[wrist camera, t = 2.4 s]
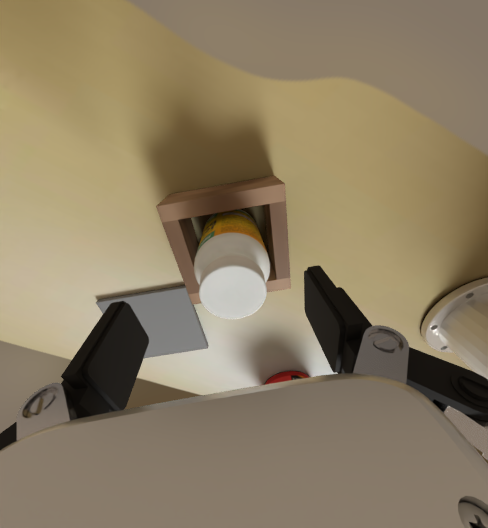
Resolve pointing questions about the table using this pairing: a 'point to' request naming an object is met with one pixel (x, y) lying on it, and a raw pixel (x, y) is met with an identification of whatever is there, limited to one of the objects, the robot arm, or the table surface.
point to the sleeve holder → (220, 200)
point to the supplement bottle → (231, 265)
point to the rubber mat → (165, 320)
